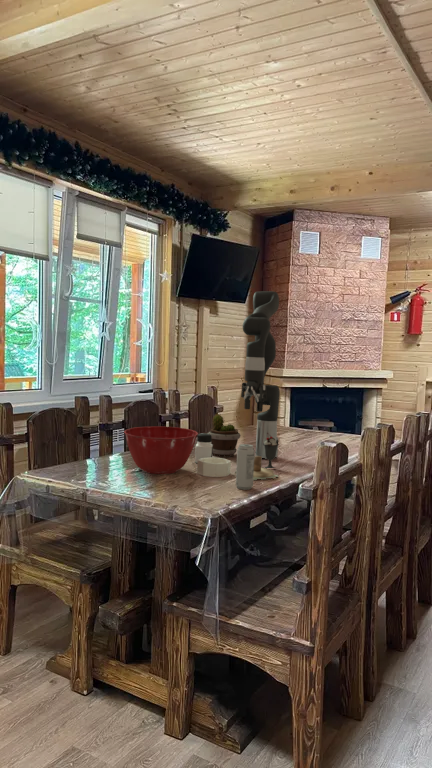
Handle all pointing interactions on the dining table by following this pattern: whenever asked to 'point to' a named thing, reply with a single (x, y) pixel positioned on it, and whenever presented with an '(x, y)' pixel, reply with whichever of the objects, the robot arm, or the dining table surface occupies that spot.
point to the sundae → (270, 450)
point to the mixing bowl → (160, 448)
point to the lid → (261, 469)
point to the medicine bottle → (203, 447)
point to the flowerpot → (223, 438)
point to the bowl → (214, 467)
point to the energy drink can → (245, 466)
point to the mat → (264, 477)
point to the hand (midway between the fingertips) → (253, 410)
